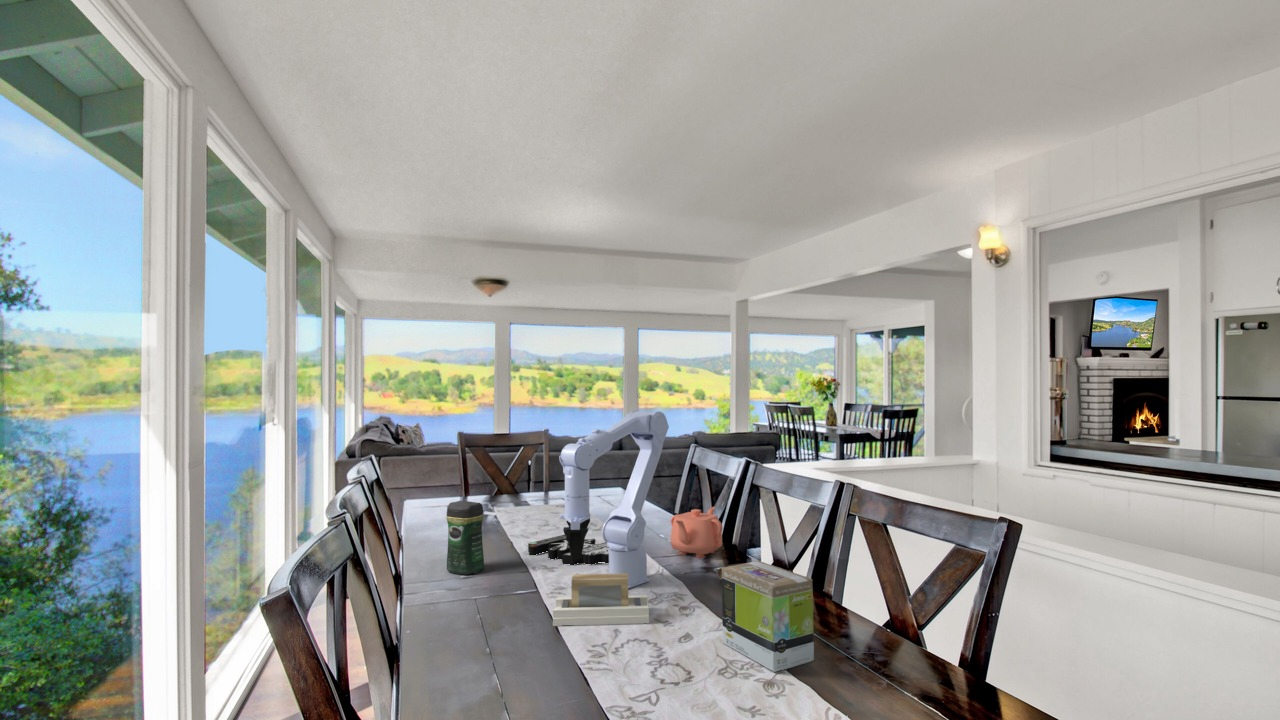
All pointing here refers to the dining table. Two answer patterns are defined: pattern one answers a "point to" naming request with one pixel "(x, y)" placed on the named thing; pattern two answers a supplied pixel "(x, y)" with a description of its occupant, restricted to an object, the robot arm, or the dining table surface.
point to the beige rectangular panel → (599, 590)
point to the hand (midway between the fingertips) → (577, 554)
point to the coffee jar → (465, 537)
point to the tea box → (768, 614)
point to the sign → (561, 550)
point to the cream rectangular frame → (601, 613)
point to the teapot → (696, 532)
